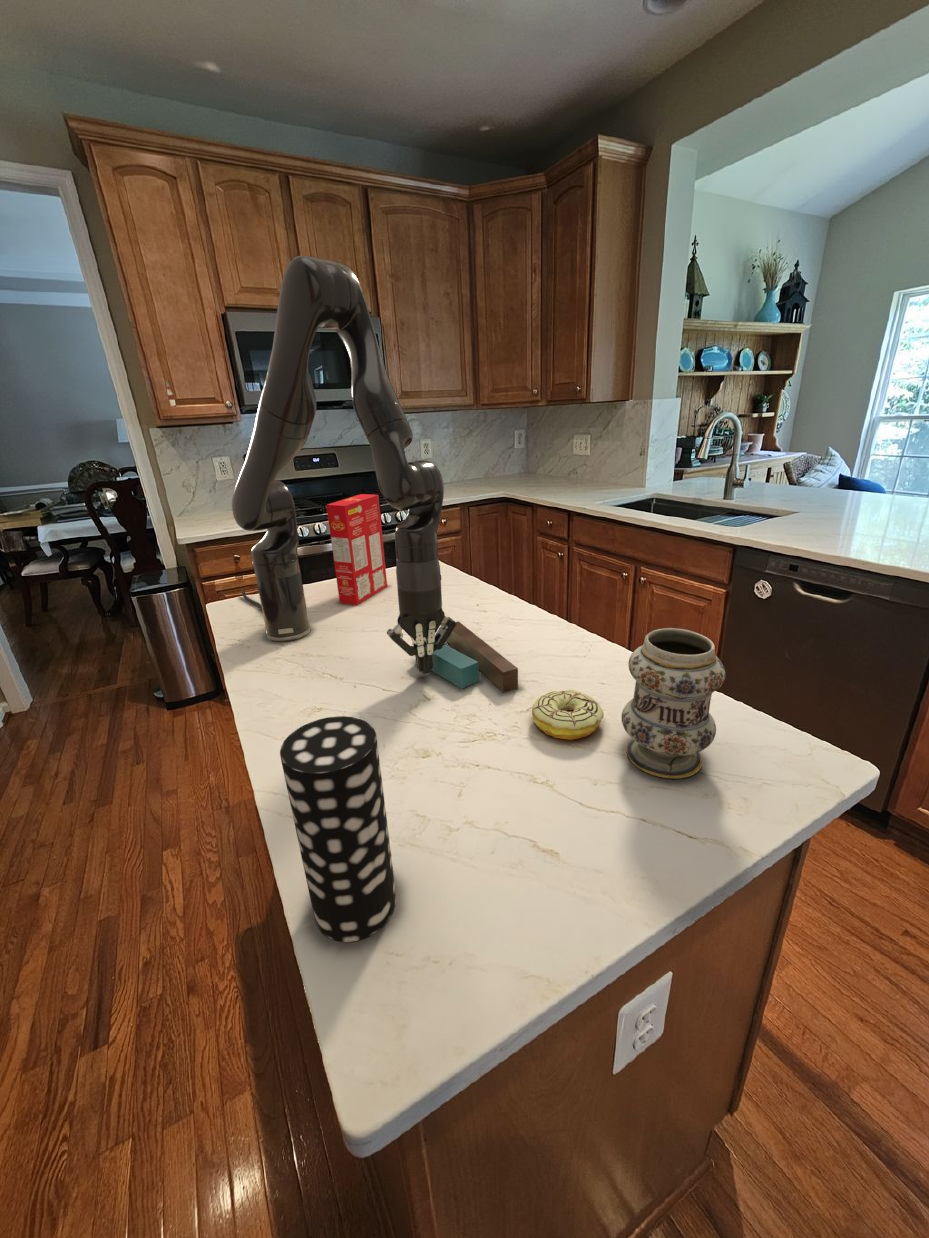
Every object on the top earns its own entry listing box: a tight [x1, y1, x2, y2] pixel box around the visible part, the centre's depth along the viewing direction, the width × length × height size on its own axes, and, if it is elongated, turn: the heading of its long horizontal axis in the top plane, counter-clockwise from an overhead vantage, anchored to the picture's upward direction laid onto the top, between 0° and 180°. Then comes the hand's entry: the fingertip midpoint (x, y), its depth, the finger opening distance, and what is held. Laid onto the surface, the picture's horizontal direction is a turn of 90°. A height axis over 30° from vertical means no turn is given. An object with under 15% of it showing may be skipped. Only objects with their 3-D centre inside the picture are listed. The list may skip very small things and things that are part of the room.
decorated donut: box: [531, 689, 605, 741], centre depth 82 cm, size 10×11×4 cm
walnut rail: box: [446, 621, 519, 693], centre depth 102 cm, size 24×3×4 cm, turn 26°
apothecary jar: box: [621, 627, 726, 780], centre depth 71 cm, size 12×12×18 cm
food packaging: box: [325, 493, 388, 606], centre depth 136 cm, size 15×5×25 cm, turn 157°
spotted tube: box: [279, 715, 397, 943], centre depth 51 cm, size 8×8×20 cm
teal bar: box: [431, 643, 480, 690], centre depth 99 cm, size 14×4×4 cm, turn 39°
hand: (424, 671), depth 98 cm, fingers closed
